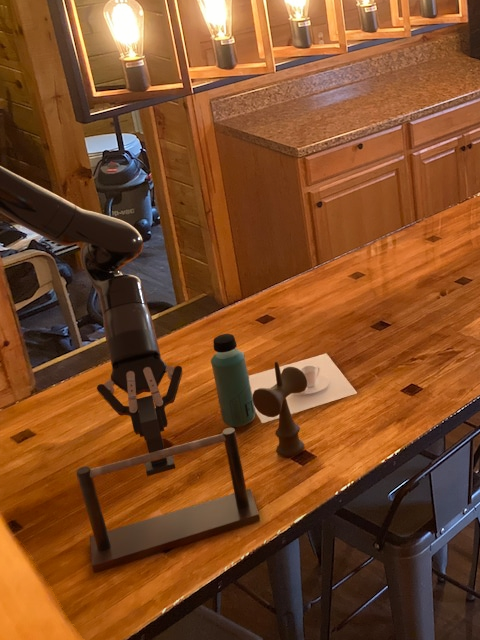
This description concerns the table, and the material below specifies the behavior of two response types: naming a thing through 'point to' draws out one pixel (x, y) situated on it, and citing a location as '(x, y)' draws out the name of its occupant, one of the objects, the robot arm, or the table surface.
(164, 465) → the hook hanger
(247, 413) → the beverage bottle
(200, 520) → the rail stand
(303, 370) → the teacup and saucer
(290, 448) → the kendama
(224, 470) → the table surface
